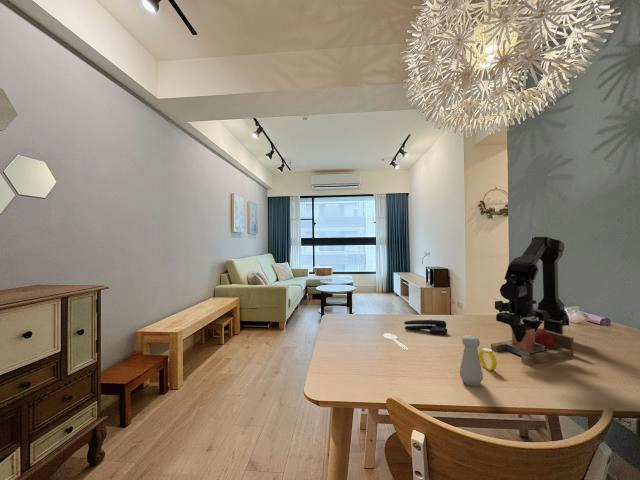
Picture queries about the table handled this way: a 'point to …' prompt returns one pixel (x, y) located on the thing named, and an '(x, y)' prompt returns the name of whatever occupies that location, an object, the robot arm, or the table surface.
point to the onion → (543, 338)
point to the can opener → (428, 326)
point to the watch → (494, 362)
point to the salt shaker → (471, 362)
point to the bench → (559, 350)
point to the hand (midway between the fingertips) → (523, 340)
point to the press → (525, 343)
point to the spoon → (394, 337)
